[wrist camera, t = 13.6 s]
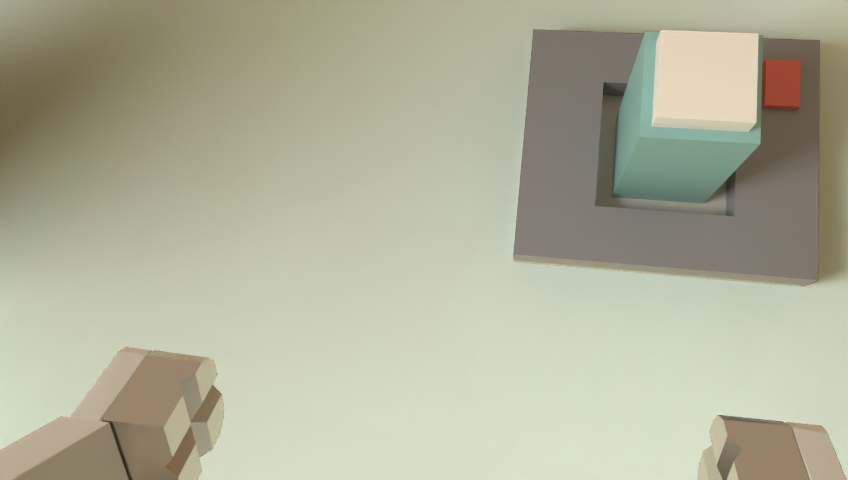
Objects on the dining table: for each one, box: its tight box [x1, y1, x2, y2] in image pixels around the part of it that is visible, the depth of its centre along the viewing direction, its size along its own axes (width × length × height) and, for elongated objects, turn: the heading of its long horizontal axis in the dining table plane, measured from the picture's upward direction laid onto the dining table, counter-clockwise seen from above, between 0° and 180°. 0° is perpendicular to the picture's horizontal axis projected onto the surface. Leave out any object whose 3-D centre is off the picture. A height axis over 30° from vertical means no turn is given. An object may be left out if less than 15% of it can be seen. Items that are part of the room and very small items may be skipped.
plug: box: [612, 30, 763, 204], centre depth 32 cm, size 4×4×10 cm
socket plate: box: [513, 29, 820, 286], centre depth 37 cm, size 14×12×2 cm
